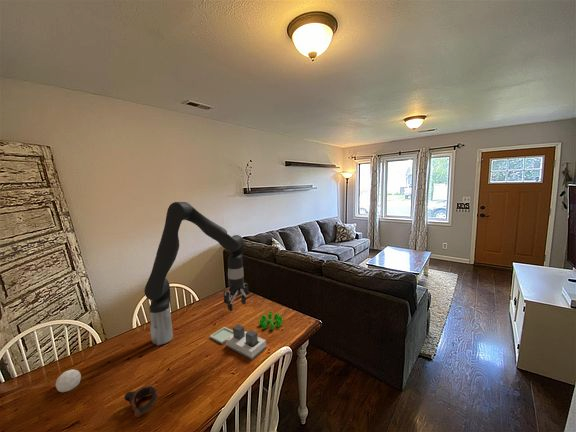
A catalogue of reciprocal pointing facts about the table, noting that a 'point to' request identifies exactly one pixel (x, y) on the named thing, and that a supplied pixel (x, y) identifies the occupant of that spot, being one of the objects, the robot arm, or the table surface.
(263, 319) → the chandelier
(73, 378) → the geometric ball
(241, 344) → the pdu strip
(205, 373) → the table surface
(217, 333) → the sage tray
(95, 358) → the table surface
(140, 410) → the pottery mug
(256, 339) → the grey rectangular prism
